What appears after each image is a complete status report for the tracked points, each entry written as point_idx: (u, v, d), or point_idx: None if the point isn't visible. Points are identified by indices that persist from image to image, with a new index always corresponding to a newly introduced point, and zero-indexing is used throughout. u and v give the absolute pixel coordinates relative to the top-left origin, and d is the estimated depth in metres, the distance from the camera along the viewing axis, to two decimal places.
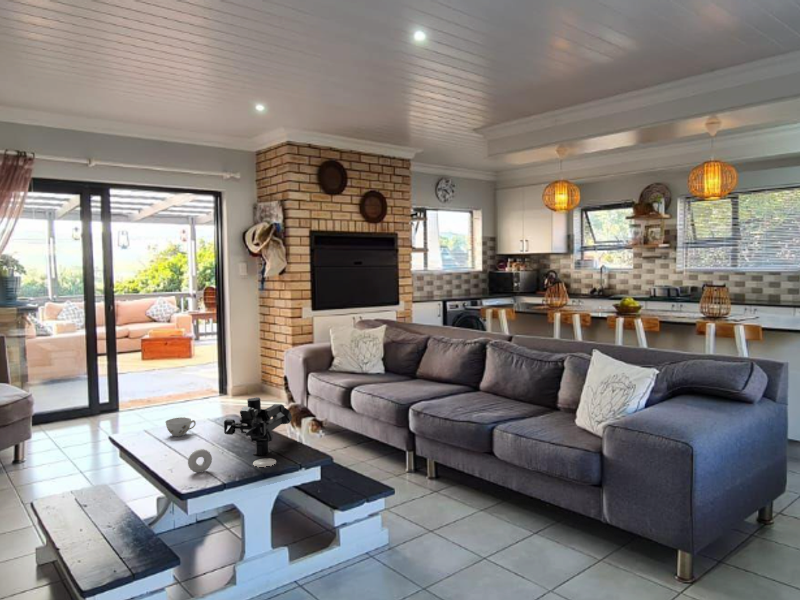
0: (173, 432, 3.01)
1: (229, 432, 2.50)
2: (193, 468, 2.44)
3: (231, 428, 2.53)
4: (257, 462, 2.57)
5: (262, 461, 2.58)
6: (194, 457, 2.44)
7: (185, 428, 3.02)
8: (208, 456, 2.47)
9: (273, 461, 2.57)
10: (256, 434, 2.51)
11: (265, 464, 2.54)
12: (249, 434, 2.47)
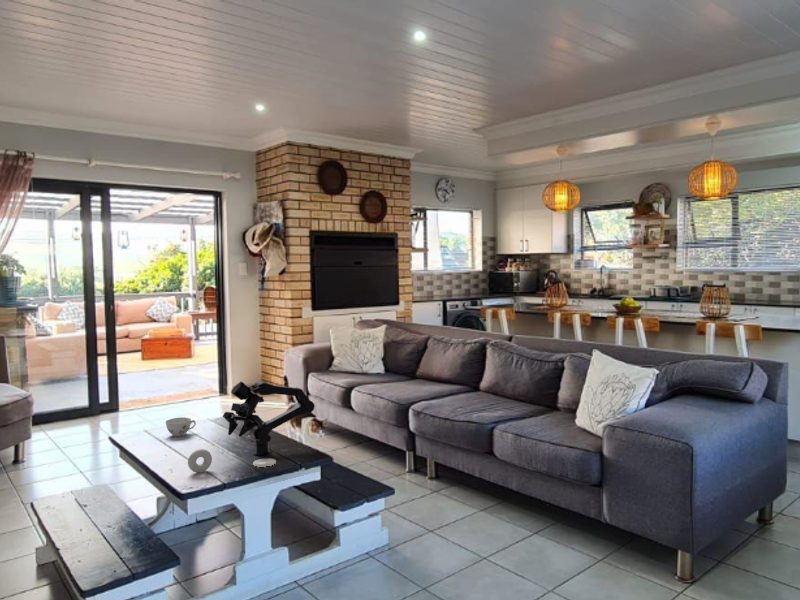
0: (173, 432, 3.01)
1: (232, 429, 2.61)
2: (193, 468, 2.44)
3: (233, 423, 2.62)
4: (257, 462, 2.57)
5: (262, 461, 2.58)
6: (194, 457, 2.44)
7: (185, 428, 3.02)
8: (208, 456, 2.47)
9: (273, 461, 2.57)
10: (250, 427, 2.60)
11: (265, 464, 2.54)
12: (243, 433, 2.57)
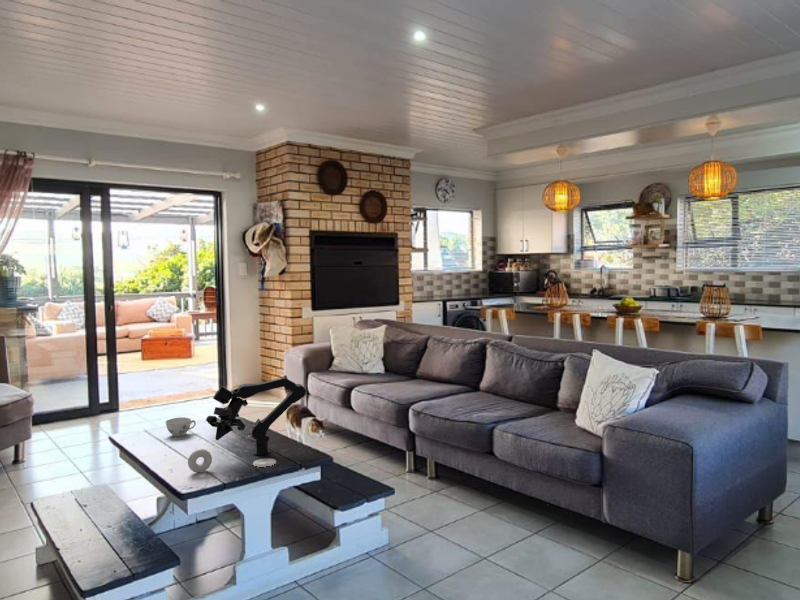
0: (173, 432, 3.01)
1: None
2: (193, 468, 2.44)
3: None
4: (257, 462, 2.57)
5: (262, 461, 2.58)
6: (194, 457, 2.44)
7: (185, 428, 3.02)
8: (208, 456, 2.47)
9: (273, 461, 2.57)
10: (228, 430, 2.60)
11: (265, 464, 2.54)
12: (220, 437, 2.57)
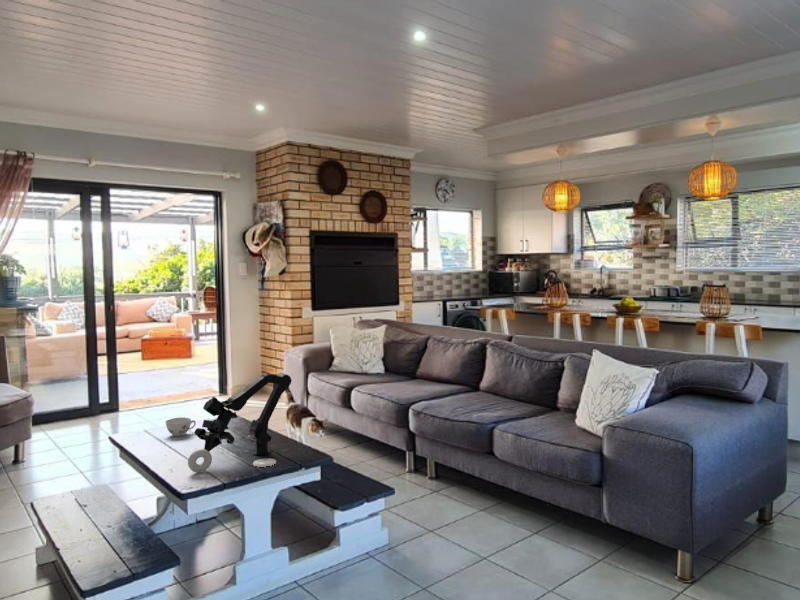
0: (173, 432, 3.01)
1: None
2: (193, 468, 2.44)
3: None
4: (257, 462, 2.57)
5: (262, 461, 2.58)
6: (194, 457, 2.44)
7: (185, 428, 3.02)
8: (208, 456, 2.47)
9: (273, 461, 2.57)
10: (217, 443, 2.53)
11: (265, 464, 2.54)
12: (208, 450, 2.51)
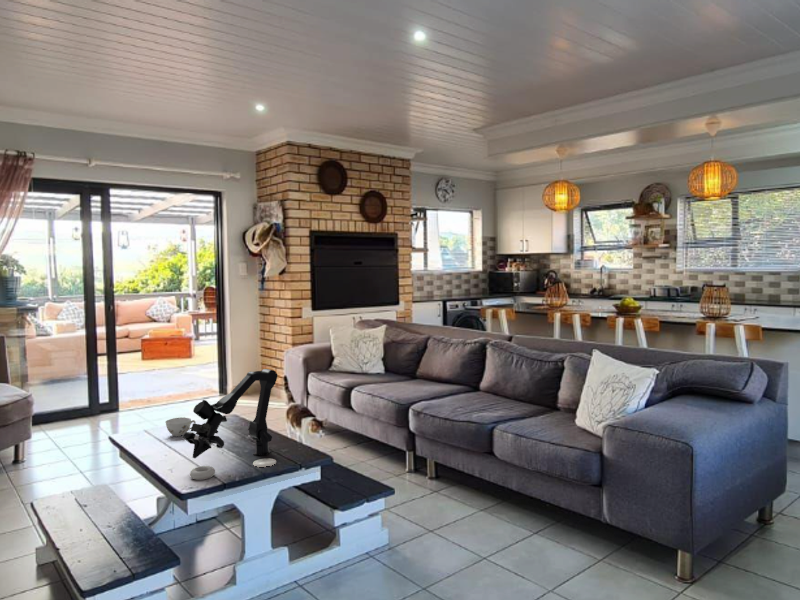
0: (173, 432, 3.01)
1: None
2: None
3: None
4: (257, 462, 2.57)
5: (262, 461, 2.58)
6: None
7: (185, 428, 3.02)
8: None
9: (273, 461, 2.57)
10: (206, 448, 2.48)
11: (265, 464, 2.54)
12: (198, 455, 2.45)
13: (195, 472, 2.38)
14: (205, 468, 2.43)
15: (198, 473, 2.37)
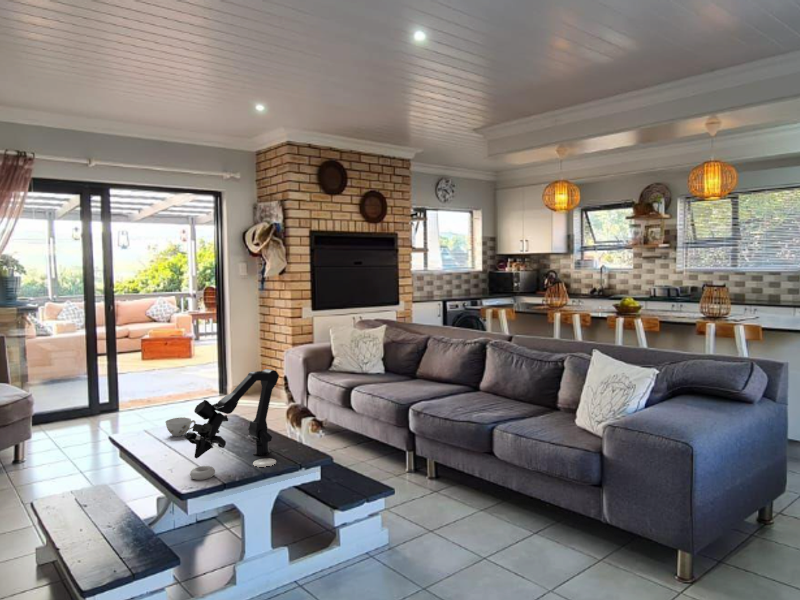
0: (173, 432, 3.01)
1: None
2: None
3: None
4: (257, 462, 2.57)
5: (262, 461, 2.58)
6: None
7: (185, 428, 3.02)
8: None
9: (273, 461, 2.57)
10: (208, 448, 2.48)
11: (265, 464, 2.54)
12: (199, 455, 2.45)
13: (195, 472, 2.38)
14: (205, 468, 2.43)
15: (198, 473, 2.37)
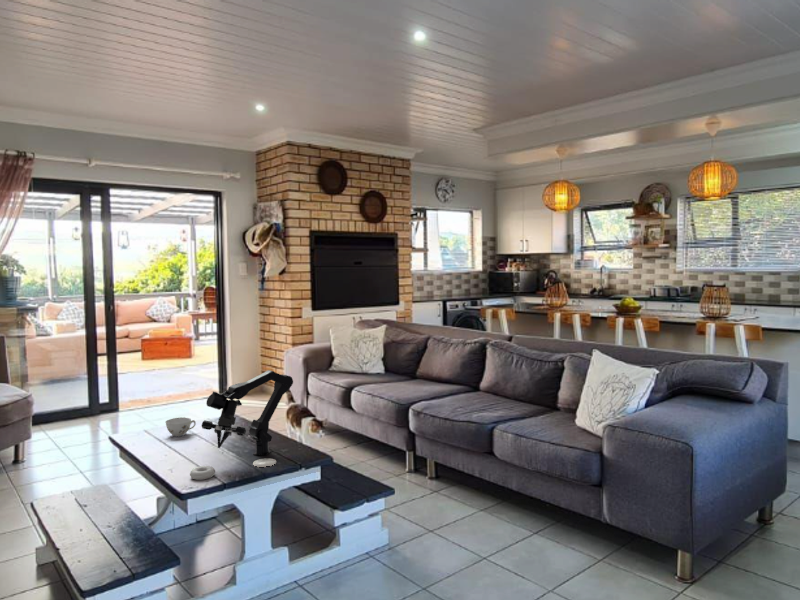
0: (173, 432, 3.01)
1: None
2: None
3: (220, 434, 2.55)
4: (257, 462, 2.57)
5: (262, 461, 2.58)
6: None
7: (185, 428, 3.02)
8: None
9: (273, 461, 2.57)
10: (227, 436, 2.57)
11: (265, 464, 2.54)
12: (221, 444, 2.54)
13: (195, 472, 2.38)
14: (205, 468, 2.43)
15: (198, 473, 2.37)
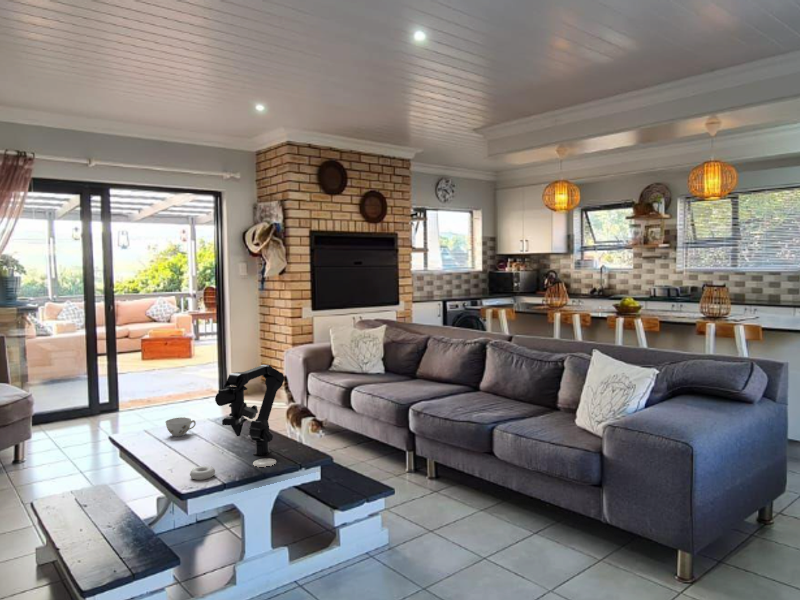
0: (173, 432, 3.01)
1: None
2: None
3: None
4: (257, 462, 2.57)
5: (262, 461, 2.58)
6: None
7: (185, 428, 3.02)
8: None
9: (273, 461, 2.57)
10: None
11: (265, 464, 2.54)
12: None
13: (195, 472, 2.38)
14: (205, 468, 2.43)
15: (198, 473, 2.37)
